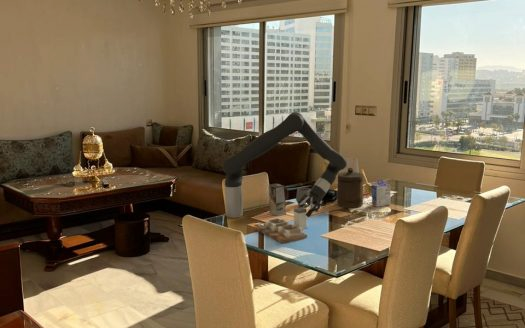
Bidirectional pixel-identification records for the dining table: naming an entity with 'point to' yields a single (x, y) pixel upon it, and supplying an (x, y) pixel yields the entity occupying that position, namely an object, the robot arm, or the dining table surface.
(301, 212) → the plug
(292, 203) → the dining table surface
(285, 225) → the socket board
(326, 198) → the end cap
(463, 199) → the dining table surface
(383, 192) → the ink cartridge box
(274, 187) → the coffee box
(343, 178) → the wooden container
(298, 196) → the cup
